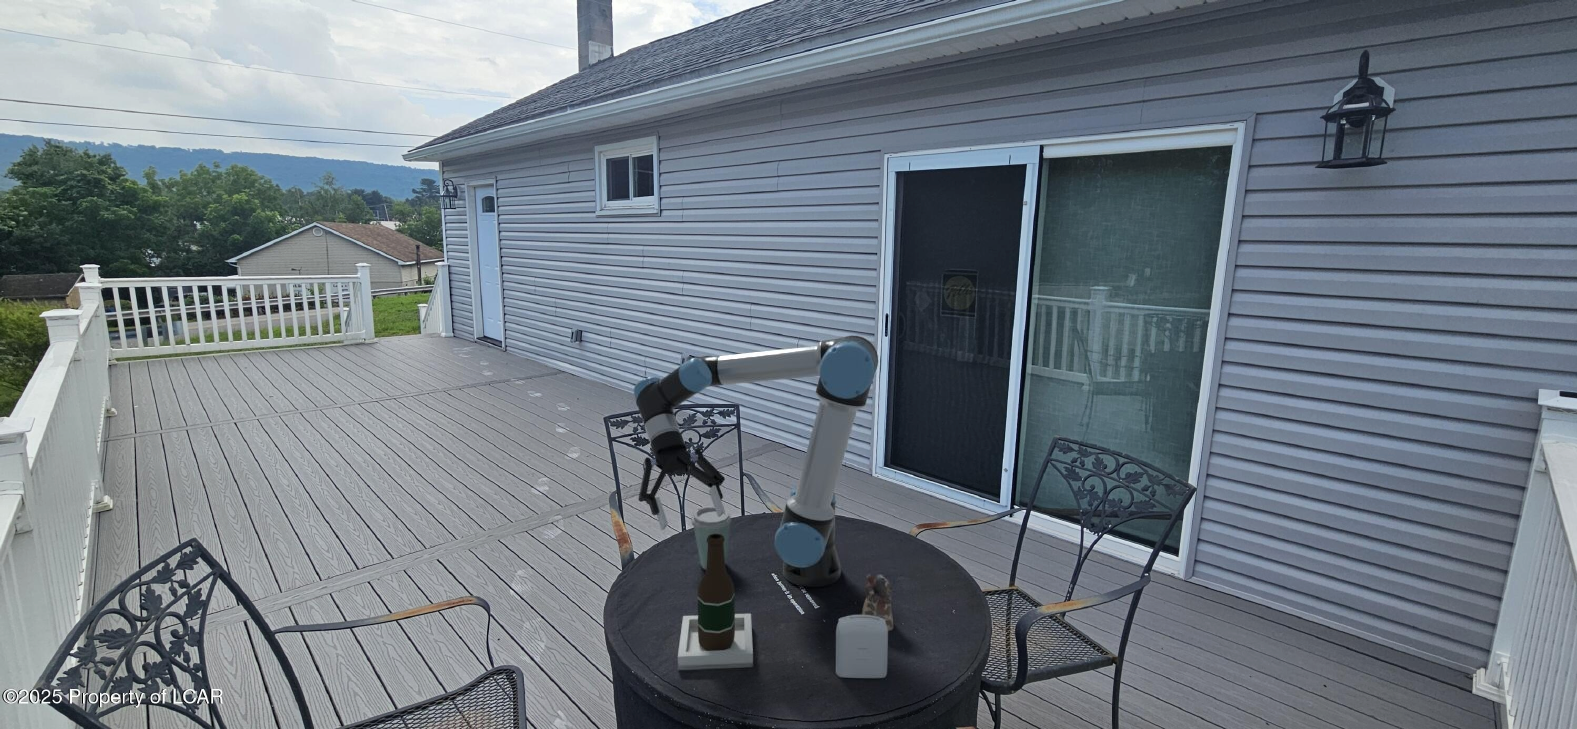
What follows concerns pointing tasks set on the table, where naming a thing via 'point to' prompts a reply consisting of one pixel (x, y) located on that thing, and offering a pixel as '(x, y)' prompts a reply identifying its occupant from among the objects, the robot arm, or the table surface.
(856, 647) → the photo printer
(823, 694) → the table surface
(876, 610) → the figurine
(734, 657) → the dock tray
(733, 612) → the beer bottle
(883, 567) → the table surface
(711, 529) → the disposable coffee cup
